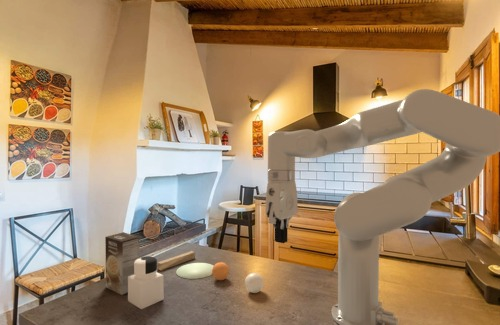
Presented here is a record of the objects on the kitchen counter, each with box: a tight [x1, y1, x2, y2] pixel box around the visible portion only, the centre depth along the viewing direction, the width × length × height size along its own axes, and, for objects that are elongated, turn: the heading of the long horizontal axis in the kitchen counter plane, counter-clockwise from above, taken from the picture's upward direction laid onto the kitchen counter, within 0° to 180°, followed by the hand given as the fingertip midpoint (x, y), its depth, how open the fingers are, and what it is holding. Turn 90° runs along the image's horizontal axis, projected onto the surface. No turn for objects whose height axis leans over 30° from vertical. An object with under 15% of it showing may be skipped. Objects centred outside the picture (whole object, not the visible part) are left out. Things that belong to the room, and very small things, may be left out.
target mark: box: [176, 262, 214, 280], centre depth 102 cm, size 14×14×1 cm
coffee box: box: [105, 231, 140, 296], centre depth 89 cm, size 9×6×16 cm
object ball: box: [212, 261, 230, 281], centre depth 95 cm, size 6×6×6 cm
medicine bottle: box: [127, 255, 165, 310], centre depth 81 cm, size 7×7×12 cm
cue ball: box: [244, 272, 264, 294], centre depth 86 cm, size 6×6×6 cm
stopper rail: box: [157, 250, 196, 271], centre depth 109 cm, size 2×16×2 cm, turn 142°
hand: (280, 241), depth 80 cm, fingers closed
